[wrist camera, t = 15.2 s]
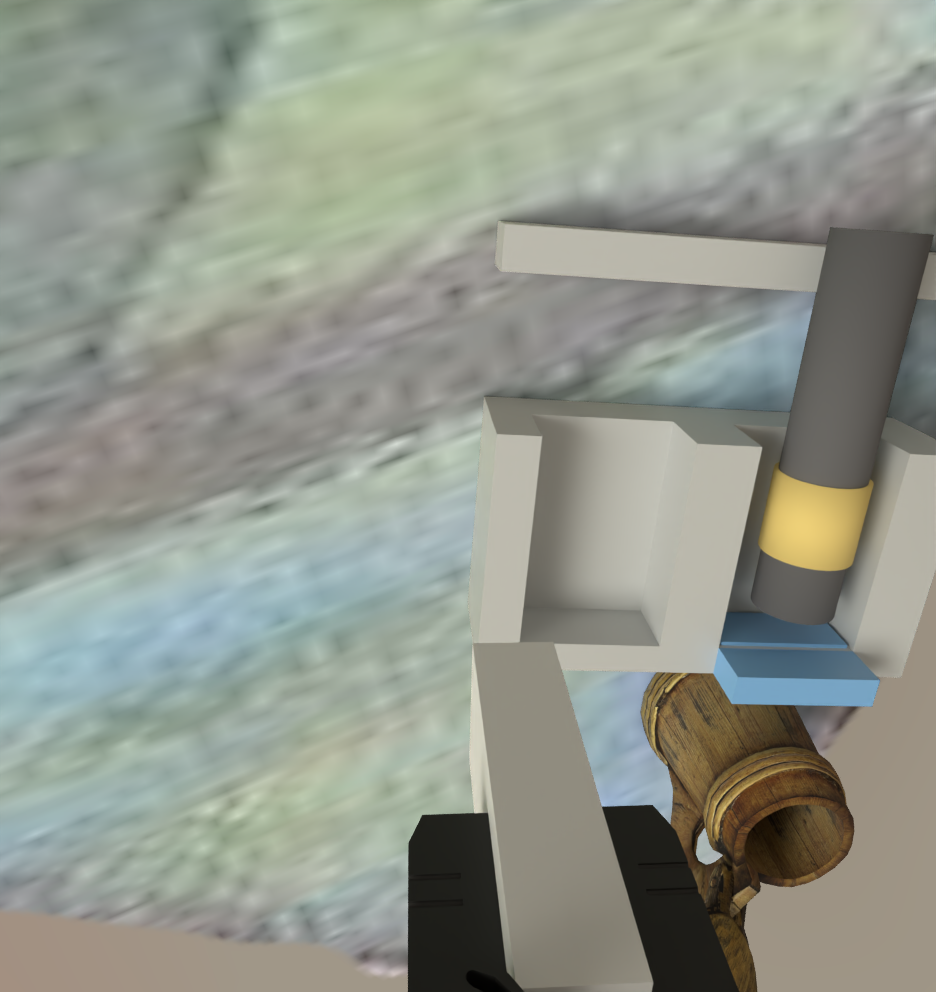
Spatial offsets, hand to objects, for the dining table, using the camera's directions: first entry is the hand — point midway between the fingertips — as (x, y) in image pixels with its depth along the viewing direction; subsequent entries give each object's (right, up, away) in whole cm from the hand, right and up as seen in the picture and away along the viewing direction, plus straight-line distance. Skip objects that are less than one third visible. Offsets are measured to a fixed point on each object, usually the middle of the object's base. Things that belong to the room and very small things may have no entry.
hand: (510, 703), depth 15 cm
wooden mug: (+13, -10, +34) cm, 38 cm away
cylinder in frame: (+11, +7, +27) cm, 30 cm away
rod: (+16, +8, +24) cm, 30 cm away
